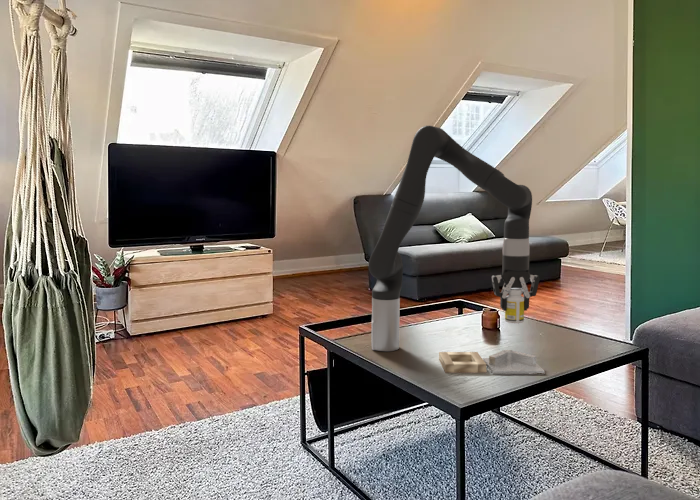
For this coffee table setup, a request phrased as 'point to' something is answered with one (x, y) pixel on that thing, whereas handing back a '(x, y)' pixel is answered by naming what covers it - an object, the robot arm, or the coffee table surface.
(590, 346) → the coffee table surface
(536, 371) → the v block
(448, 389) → the coffee table surface
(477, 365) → the square frame block
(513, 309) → the supplement bottle
